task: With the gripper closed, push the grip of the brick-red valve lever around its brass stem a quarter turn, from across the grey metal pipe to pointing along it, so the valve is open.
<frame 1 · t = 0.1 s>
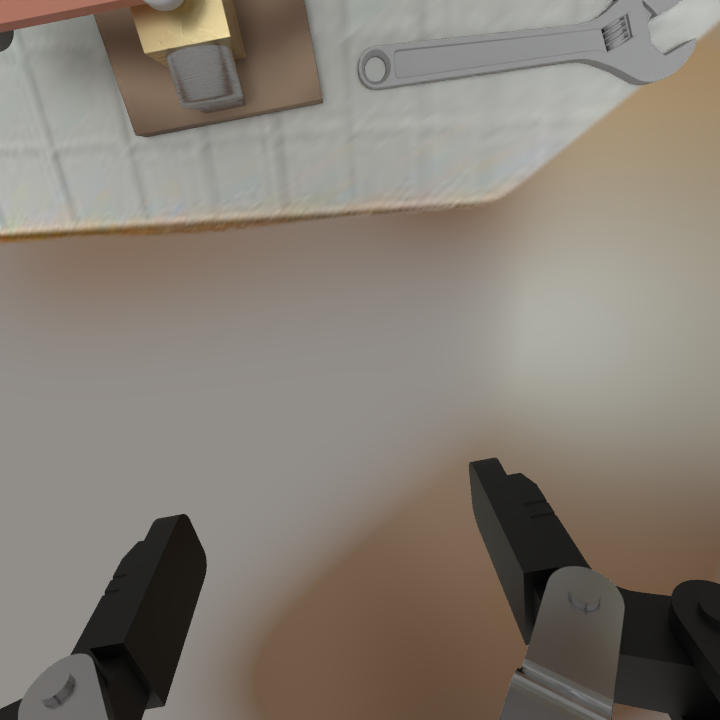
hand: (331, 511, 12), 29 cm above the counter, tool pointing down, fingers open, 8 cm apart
pipe valve: (186, 6, 26), on the mounting board, point 6 cm above the counter
adjustable wrench: (522, 42, 33), on the counter
mounting board: (212, 34, 31), on the counter
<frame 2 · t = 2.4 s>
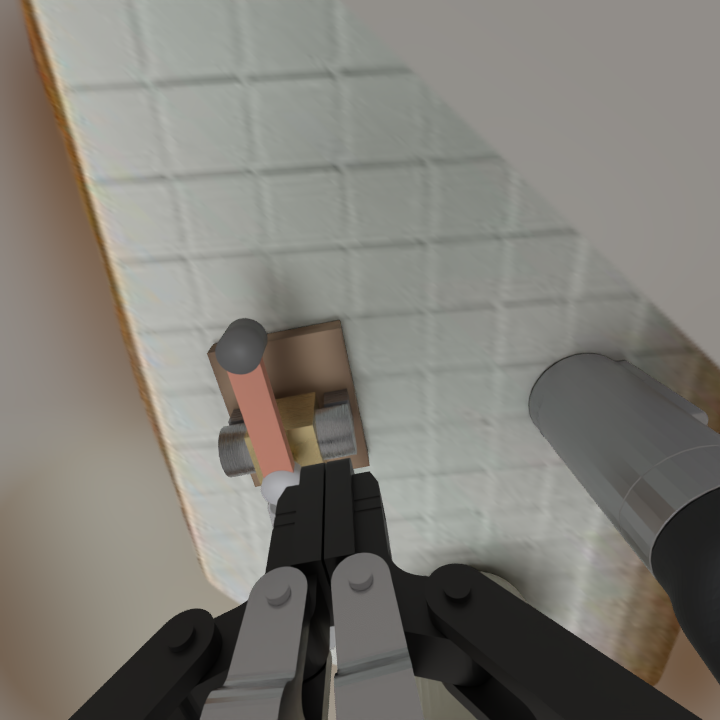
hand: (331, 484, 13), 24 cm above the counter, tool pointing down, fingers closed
canister: (462, 600, 52), on the counter
pipe valve: (290, 439, 34), on the mounting board, point 6 cm above the counter
valve lever: (265, 416, 28), point 10 cm above the counter, hinge at 0.0°
mounting board: (296, 402, 39), on the counter
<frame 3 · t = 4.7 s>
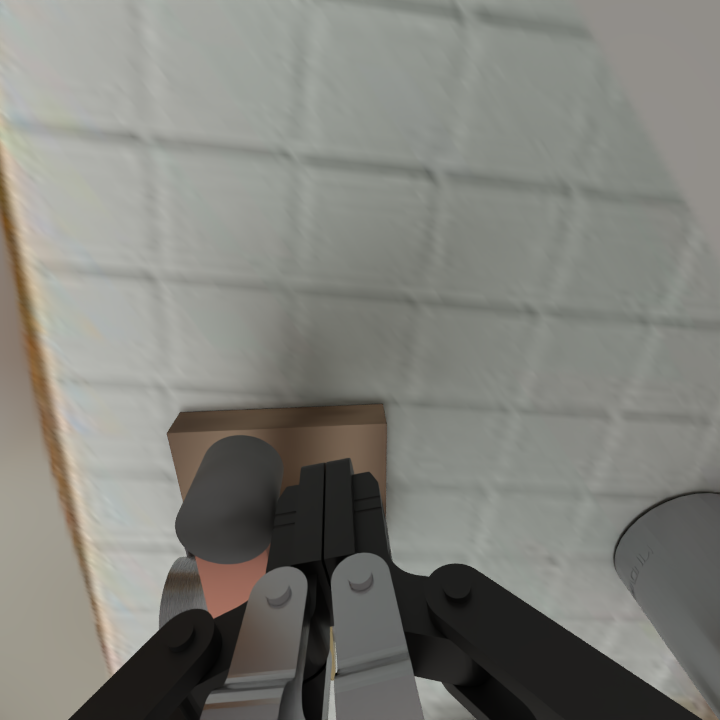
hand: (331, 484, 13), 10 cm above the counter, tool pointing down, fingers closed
pipe valve: (281, 595, 21), on the mounting board, point 6 cm above the counter
valve lever: (254, 612, 15), point 10 cm above the counter, hinge at 0.0°, touching gripper
mounting board: (292, 507, 26), on the counter
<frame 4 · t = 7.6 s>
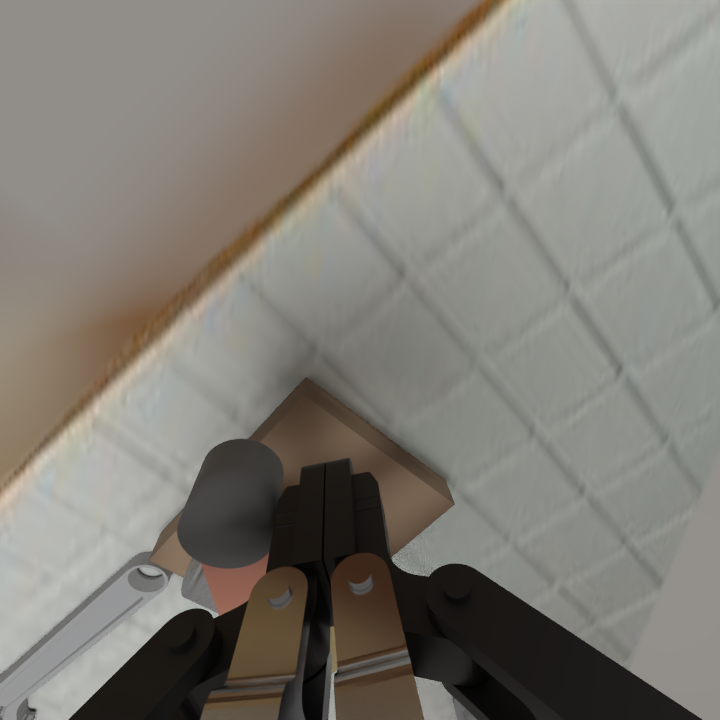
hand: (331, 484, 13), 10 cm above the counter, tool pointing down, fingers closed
pipe valve: (297, 595, 21), on the mounting board, point 6 cm above the counter
valve lever: (267, 614, 15), point 10 cm above the counter, hinge at 47.9°, touching gripper
adjustable wrench: (62, 648, 31), on the counter
mounting board: (303, 507, 26), on the counter
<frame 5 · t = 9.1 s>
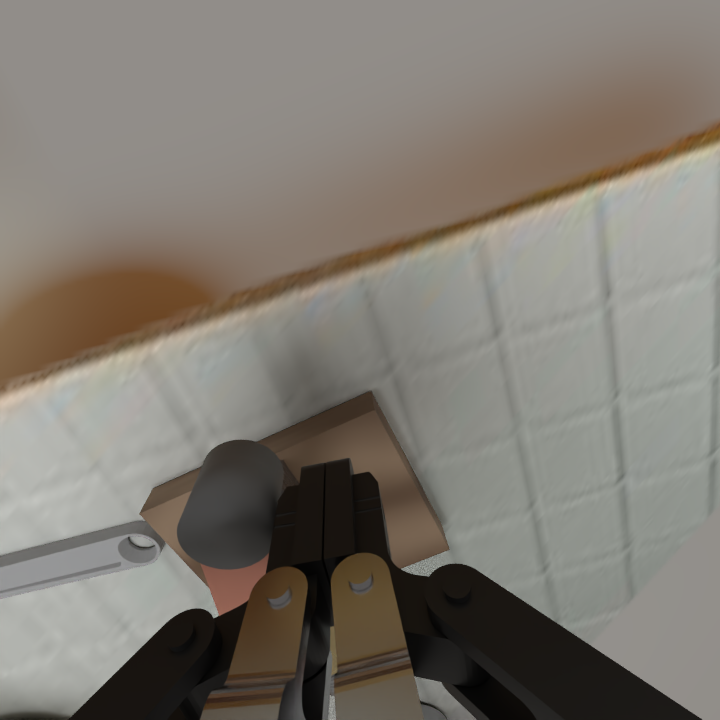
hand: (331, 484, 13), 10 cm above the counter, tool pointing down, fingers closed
pipe valve: (299, 595, 21), on the mounting board, point 6 cm above the counter
valve lever: (268, 614, 15), point 10 cm above the counter, hinge at 70.9°, touching gripper
mounting board: (304, 507, 26), on the counter
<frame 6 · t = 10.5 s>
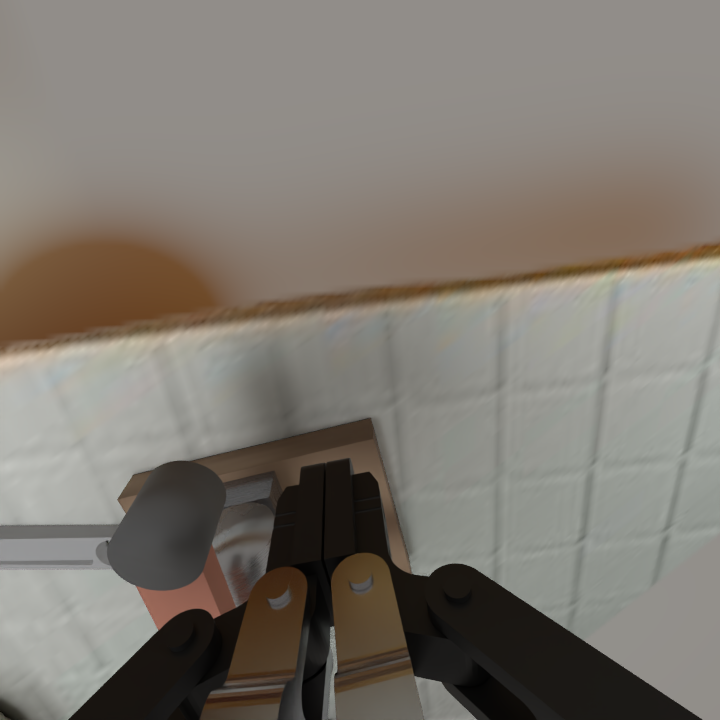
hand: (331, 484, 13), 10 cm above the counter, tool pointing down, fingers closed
pipe valve: (267, 608, 21), on the mounting board, point 6 cm above the counter
valve lever: (217, 631, 15), point 10 cm above the counter, hinge at 84.3°
mounting board: (280, 518, 27), on the counter
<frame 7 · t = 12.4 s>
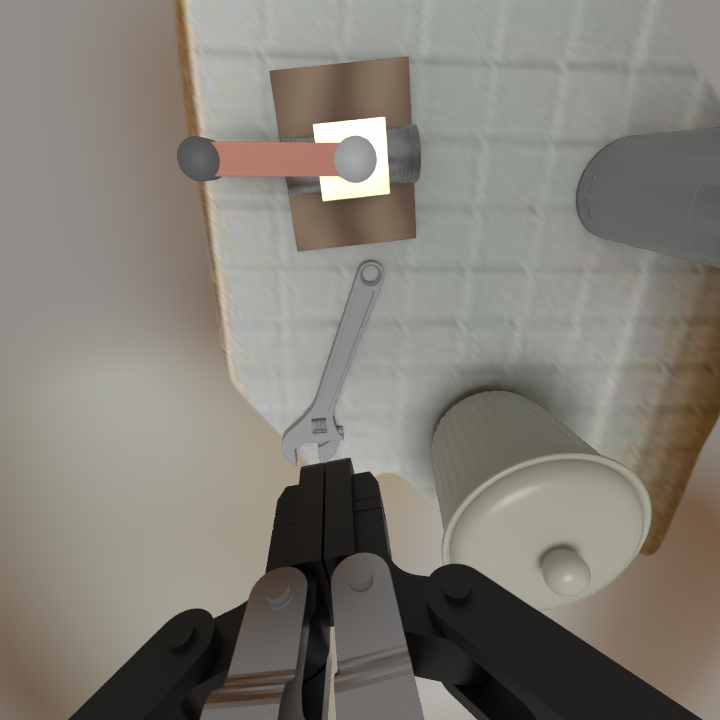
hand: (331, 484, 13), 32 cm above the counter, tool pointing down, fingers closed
canister: (482, 431, 52), on the counter
pipe valve: (351, 160, 33), on the mounting board, point 6 cm above the counter
valve lever: (280, 159, 29), point 10 cm above the counter, hinge at 84.3°
adjustable wrench: (340, 371, 48), on the counter
mounting board: (347, 161, 38), on the counter
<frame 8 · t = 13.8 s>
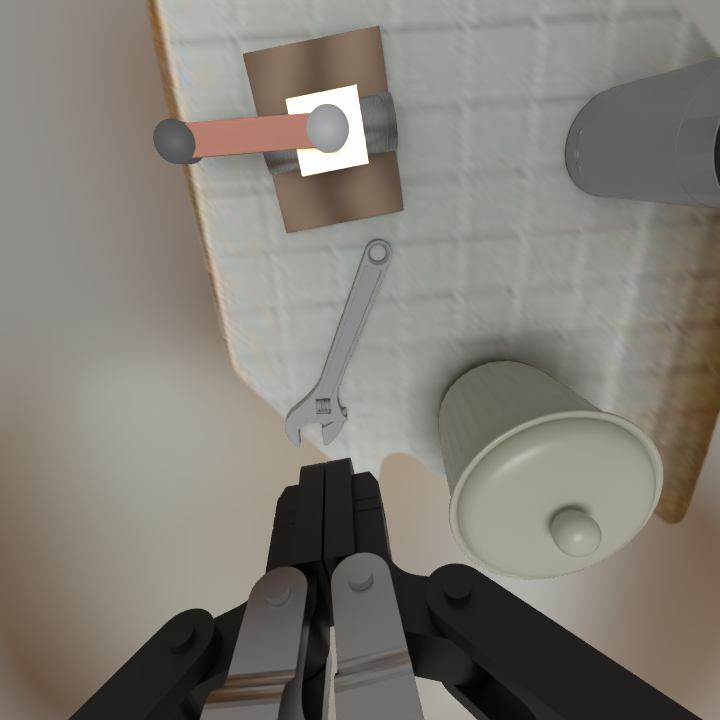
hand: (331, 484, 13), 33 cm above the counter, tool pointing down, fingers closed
canister: (490, 404, 51), on the counter
pipe valve: (328, 134, 33), on the mounting board, point 6 cm above the counter
valve lever: (255, 136, 29), point 10 cm above the counter, hinge at 84.3°
adjustable wrench: (345, 352, 48), on the counter
mounting board: (329, 139, 39), on the counter
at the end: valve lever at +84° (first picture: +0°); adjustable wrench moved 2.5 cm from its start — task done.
